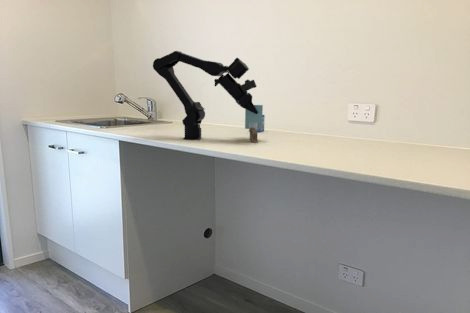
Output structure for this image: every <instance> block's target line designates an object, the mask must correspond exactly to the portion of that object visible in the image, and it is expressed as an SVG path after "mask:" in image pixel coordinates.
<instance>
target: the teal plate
mask: <svg viewBox="0 0 470 313" xmlns="http://www.w3.org/2000/svg"><path fill="white" fill-rule="evenodd" d="M253 105H254V106H255V108H256V109H257V111H258V113H257V114H255V113H253V112H251V111H249V110H247V109H245V112H244V114H245V117H244V118H245V120H244V129H246V130H249V123H258V129H262V115H263V107H264V105H263V104H253Z"/></svg>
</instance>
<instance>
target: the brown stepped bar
mask: <svg viewBox="0 0 470 313" xmlns="http://www.w3.org/2000/svg"><path fill="white" fill-rule="evenodd" d="M258 133H259V132H258V131H257V130H255V128H254V127H250V132H249V140H250V141H251V143H255V144H256V143H258Z"/></svg>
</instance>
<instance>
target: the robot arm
mask: <svg viewBox="0 0 470 313" xmlns="http://www.w3.org/2000/svg"><path fill="white" fill-rule="evenodd" d="M179 62H180V63H182V64H187V65H189V66H192V67H194V68H198V69H199V70H202V71H203V72H205V73H206V74H208V75H209V76H212V77H218V78H215V79H214V87H217V86H218V85H220V86H221V87H222V88H223V89H224V90H225V91H226V92H227V93H228V94H229V95H230V97H231V98H233V99H234V101H235V103H236V104H237V105H239V107H240V108H243V109H247V110H249V111H251V112H253V113H255V114H257V113H258V111H257V109H256V108H255V106H254V105H255V104H254V103H253V95H252V94H251V93H250V92H248V91H250V90H251V89H254V88H257V84H256V82H255V80H254V79H251V80H249V79H246V80H245V81H244V83H243V84H241V83H238V81H237V80H236V79H238V80H240V79H241V78H242V77H243V76H244V75H245V74H246V73H248V71H249V70H250V68H249V66H248V65H247V64H246V63H244V62H243V61H242V60H241V58H239V57H236V58H235V59H234V60H233V62H231V64H229V65H224V64H223V63H221V62H216V61H212V60H205V59H201V58H198V57H195V56H192V55H189V54H186V53H184V52H182V51H179V50H174V51H172V52H170V53H169V54H166V55H164V56H162V57H160V58H155V59H154V61H153V62H152V67H153V68H152V69H153V70H154V71H155V72H156V73H157V74H158V75H159V76H160V77H162V78H163V79H164V80H165V81H166V82H167V83H168V86H170V88H171V89H172V91H173V92H174V94H175V95H176V97H177V98H178V99H179V102H180V103H181V104H182V105H183V108H184V113H185V114H186V116H185V117H184V118H183V119H182V124H183V126H184V137H183V140H199V139H201V138H202V127H201V124H202V121H203V120H204V119H205V117H206V112H205V107H203V106H202V104H201V102H200V101H194V100H193V98H192V97H191V96H190V94H189V93H188V92H187V90H186V89H185V87H184V86H183V84H182V83H181V81H180V80H179V78H178V77H177V75H176V74H175V69H174V67H175V66H176V65H177V64H179ZM224 74H225V75H224Z"/></svg>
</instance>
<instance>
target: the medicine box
mask: <svg viewBox="0 0 470 313" xmlns="http://www.w3.org/2000/svg"><path fill="white" fill-rule="evenodd" d="M265 116H266V115H265V114H262V129H258V123H249V129H248V132H249V133H250V127H254V128H255V130H257V131H258V133H263V132H265Z"/></svg>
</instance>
